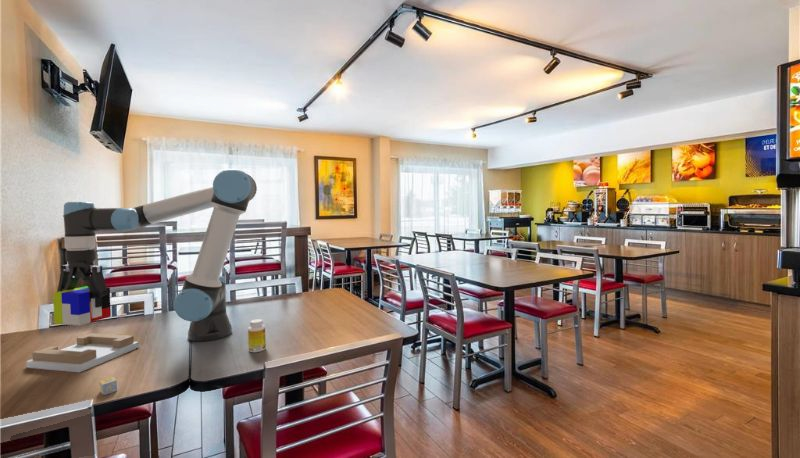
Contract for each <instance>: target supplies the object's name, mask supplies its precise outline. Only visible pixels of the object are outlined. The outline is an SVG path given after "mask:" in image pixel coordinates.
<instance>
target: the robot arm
mask: <svg viewBox="0 0 800 458" xmlns="http://www.w3.org/2000/svg"><path fill="white" fill-rule="evenodd" d="M257 190H258V188H257V183H256V181H255V179H254V178H253V177H252V176H251V175H249V174H248V173H246V172H245V171H243V170H241V169H237V168H227V169H224V170H221V171H220V172H219V173H218V174H216V176H215V177H214V179H213V182H212V186H209V187H206V188H202V189H197V190H195V191H190V192H187V193H184V194H179V195H176V196H172V197H169V198H165V199H161V200H158V201H154V202H151V203H145V204H143V205H138V206H135V207H132V208H131V207H130V208H129V207H128V208H127V207H115V208H114V207H109V208H108V207H105V208H103V207H102V208H100V207H95V204H94V202H91V201H67V202H65V203H64V204H63V216H62V217H63V226H64V249H65V253H64V255H65V262H66V263H68V264H62V265H60V275H59V281H58V286H57V288H56V289H57V291H56V292H59V291H64V290H70V289H75V288H76V286H77V284H78V282H79V281H80V279H82V280H83V281H84V282H85V283H86V286H88V288H89V290H90V291H91V293H92V295H93V297H91V313H92V318H96V317H100V316H102V297H103V296H104V295H107V294H108V291H107V284H106V281H105V277H104V274H103V266H102V265H101V264H100V265H95V264H94V261H95V260H96V259H97V250H96V249H95V248H96V232H103V231H104V232H105V231H107V232H108V231H109V232H110V231H111V232H112V231H113V232H114V231H115V232H117V231H118V232H127V231H134V230H140V229H143V228H146V227H147V226H151V225H153V224H157V223H161V222H166V221H168V220H173V219H177V218H179V217H182V216H183V217H184V216H186V215H190V214H194V213H198V212H200V211H204V210H208V209H211V208H213V209H212V213H211V215H210V218H209V222H208V224H207V227H206V231H205V233H204V236H203V237H204V238H203V240H202V243H201V247H200V249H199V251H198V252H199V253H198V256H197V258H196V261H195V265H194V267H193V270H192V273H191V274H190V275H187V276H186V277H185V280H184V282H183V285H182V287H181V291H179V293H178V294H177V295H176V297H175V298H174V301H173V309H174V312H175V313H176V314H177V316H178V317H179V318H180V319H182V320H184V321H187V322H190V324H189V328H188V331H187V338H188V340H190V341H193V342H206V341H207V342H208V341H214V340H219V339H222V338H225V337H227V336H229V335H231V333H232V332H233V327H232V324H231V321H230V319H229V317H228V316H229V315H228V314H227V293H226V292H227V291H226V285H227V283H226V278H225V276H224V275H222V274H221V273H222V270H223V268H224V265H225V262H226V258H227V255H228V252H229V249H230V246H231V244H232V243H231V242H232V240H233V236H234V234H235V230H236V227H237V224H238V221H239V219H240V216H241V215H243V214H245V213H246V212H247V208H248V205H249V202H250V201H251V200H253V199H254V197H256V194H257ZM102 291H103V292H102Z"/></svg>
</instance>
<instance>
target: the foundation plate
mask: <svg viewBox="0 0 800 458" xmlns="http://www.w3.org/2000/svg"><path fill="white" fill-rule="evenodd" d="M136 348H137V349H138V348H139V349H140V342H139V341H135V338H134V335H129V334H128V335H127V334H125V335H124V334H113V333H112V334H110V333H97V332H91V333H88V334H85V335H81V336H77V337H76V344H72V345H70V346H67V347H64V348H60V349H59V347H58V346H52V345H50V346H47V347H44V348H42V349H39V350H36V351H32V353H31V354H32V358H31V359H28V360H26V362H25V363H26V368H27V369H38V370H48V371H49V370H50V371H59V372H61V371H62V372H73V373H81V372H82V373H83V372H84V371H86V370H88V369H91V368H93V367H95V366H98V365H100V364H103V363H105V362H107V361H110V360H113V359H115V358H117V357H119V356H123V355H124V353H125V354H127V353H129V352H131V351H134V350H136Z"/></svg>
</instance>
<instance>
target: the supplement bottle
mask: <svg viewBox="0 0 800 458" xmlns="http://www.w3.org/2000/svg"><path fill="white" fill-rule="evenodd" d="M249 323H250V326H248V327H247V340H248V341H247V344H248V351H249V352H250V353H258V352H263V351H265V349H266V345H267V344H266V343H267V342H266V326H265V325H264V324H263V323H264V322H263V319H262V318H260V319H259V318H258V319H257V318H256V319H252V320H250V322H249Z"/></svg>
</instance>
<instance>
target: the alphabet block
mask: <svg viewBox="0 0 800 458" xmlns="http://www.w3.org/2000/svg"><path fill="white" fill-rule="evenodd" d="M117 382H118V381H117V379H116V378H115V377H109V378H107V379H104V380H100V381H99V384H100V385H99V387H100V392H101V394H102V395H103V396H105V395H109V394H111V393H115V392H117V391H118V384H117Z"/></svg>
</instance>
